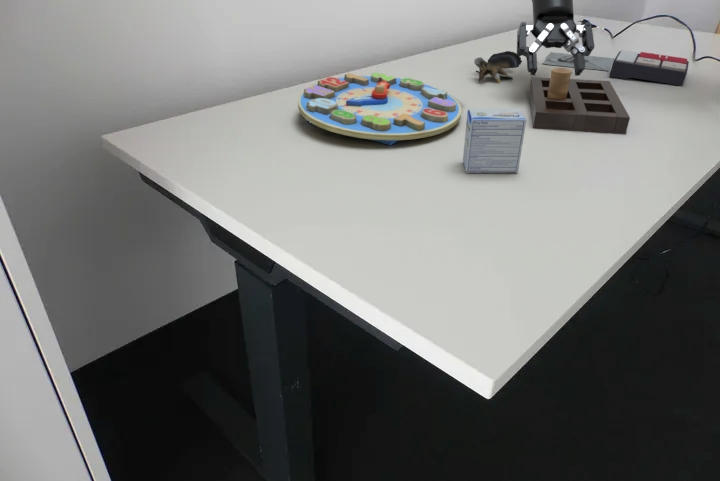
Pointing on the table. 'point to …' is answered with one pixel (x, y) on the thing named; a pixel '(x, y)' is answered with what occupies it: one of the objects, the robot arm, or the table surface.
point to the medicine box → (493, 140)
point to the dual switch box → (649, 67)
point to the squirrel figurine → (497, 64)
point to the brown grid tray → (578, 107)
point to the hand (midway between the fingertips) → (556, 73)
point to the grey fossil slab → (568, 60)
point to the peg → (559, 83)
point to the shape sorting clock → (379, 107)
